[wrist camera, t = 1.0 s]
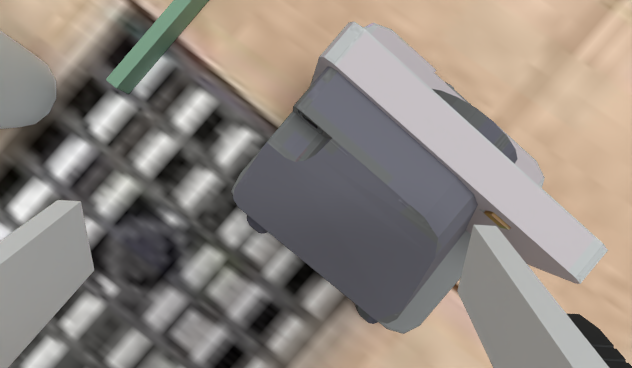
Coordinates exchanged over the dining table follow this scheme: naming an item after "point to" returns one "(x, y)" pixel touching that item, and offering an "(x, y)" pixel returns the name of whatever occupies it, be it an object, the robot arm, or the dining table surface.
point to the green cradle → (154, 43)
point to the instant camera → (400, 183)
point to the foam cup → (23, 85)
